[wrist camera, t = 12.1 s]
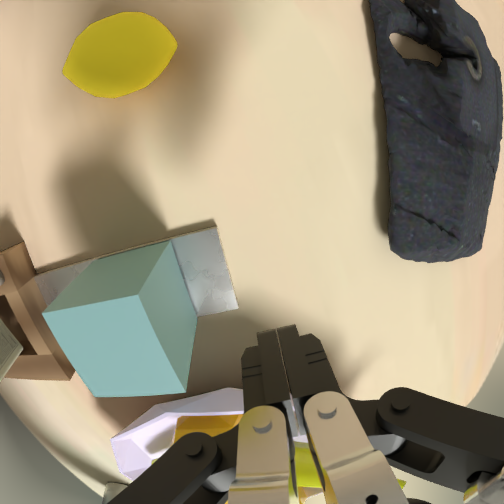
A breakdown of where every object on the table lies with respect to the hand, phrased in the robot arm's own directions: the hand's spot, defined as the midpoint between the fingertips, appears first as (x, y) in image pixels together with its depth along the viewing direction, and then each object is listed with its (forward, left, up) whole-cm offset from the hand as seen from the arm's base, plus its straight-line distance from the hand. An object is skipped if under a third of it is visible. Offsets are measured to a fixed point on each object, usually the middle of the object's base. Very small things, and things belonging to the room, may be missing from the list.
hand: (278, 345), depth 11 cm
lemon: (+15, +5, -9) cm, 18 cm away
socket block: (0, +24, -9) cm, 26 cm away
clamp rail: (0, +10, -9) cm, 14 cm away
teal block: (0, +8, -9) cm, 12 cm away
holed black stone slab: (+7, -17, -10) cm, 21 cm away
